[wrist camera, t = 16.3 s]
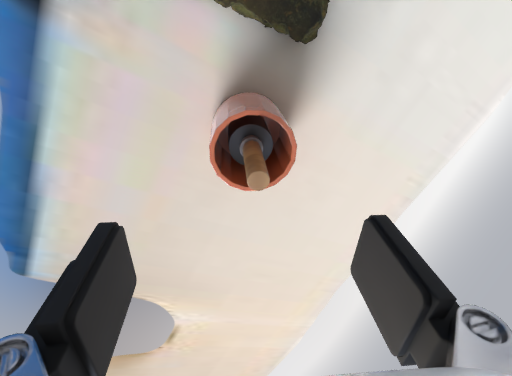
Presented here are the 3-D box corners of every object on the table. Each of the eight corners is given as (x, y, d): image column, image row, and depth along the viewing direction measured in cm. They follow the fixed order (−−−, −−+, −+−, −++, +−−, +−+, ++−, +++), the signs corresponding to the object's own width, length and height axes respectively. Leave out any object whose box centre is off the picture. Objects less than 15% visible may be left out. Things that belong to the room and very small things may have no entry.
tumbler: (285, 92, 34) (301, 110, 27) (279, 160, 38) (291, 190, 32) (211, 91, 33) (207, 109, 26) (213, 160, 38) (211, 191, 31)
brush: (268, 111, 34) (289, 154, 23) (266, 149, 37) (284, 204, 26) (227, 111, 34) (229, 154, 23) (228, 149, 36) (229, 205, 25)
